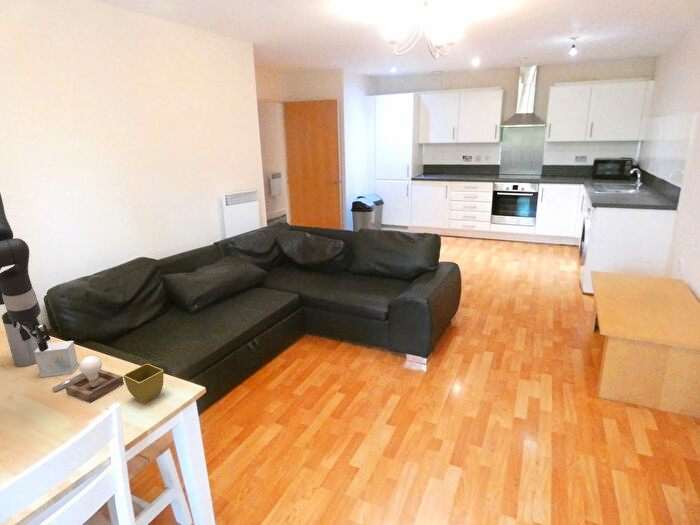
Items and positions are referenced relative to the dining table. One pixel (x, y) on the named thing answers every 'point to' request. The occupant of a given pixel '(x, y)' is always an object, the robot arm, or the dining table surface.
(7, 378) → the dining table surface
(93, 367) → the lightbulb
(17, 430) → the dining table surface
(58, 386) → the pin
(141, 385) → the flower pot
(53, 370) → the skincare box
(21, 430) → the dining table surface
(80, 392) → the brown wooden tray
